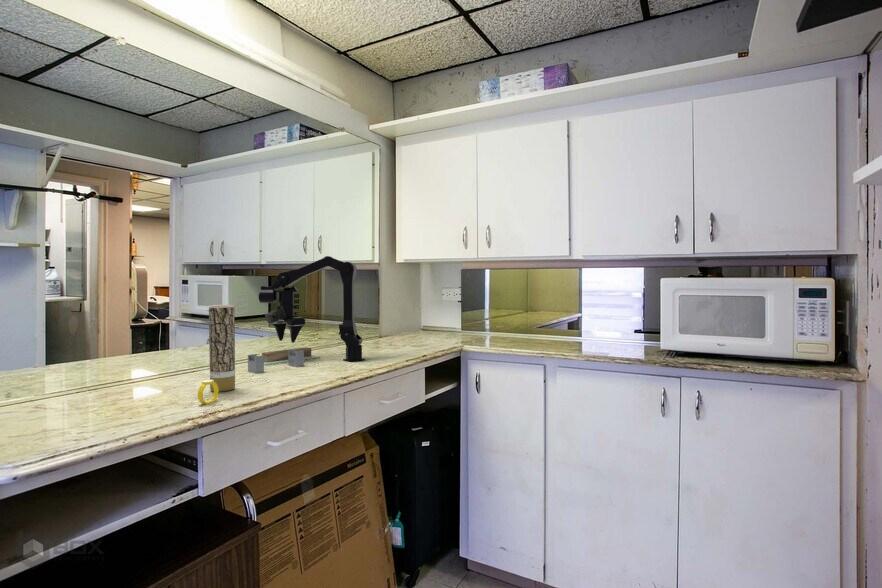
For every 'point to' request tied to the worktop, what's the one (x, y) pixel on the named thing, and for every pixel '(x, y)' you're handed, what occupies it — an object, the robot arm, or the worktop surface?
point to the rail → (283, 354)
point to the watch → (201, 389)
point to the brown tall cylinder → (222, 346)
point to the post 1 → (255, 363)
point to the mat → (288, 360)
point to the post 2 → (296, 357)
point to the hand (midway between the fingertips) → (286, 341)
